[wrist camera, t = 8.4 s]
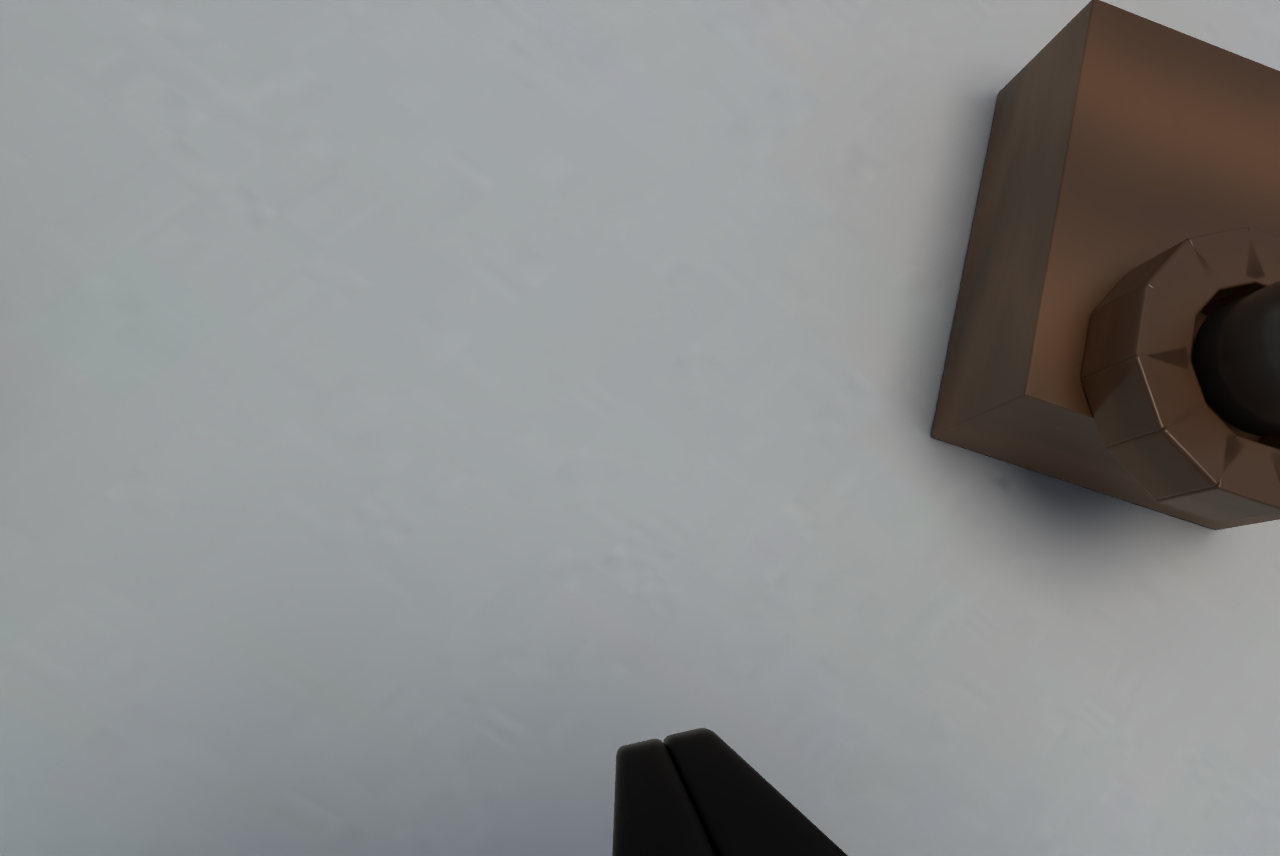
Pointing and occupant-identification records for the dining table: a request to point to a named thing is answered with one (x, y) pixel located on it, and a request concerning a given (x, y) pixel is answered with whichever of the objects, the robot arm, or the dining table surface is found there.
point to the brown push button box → (1119, 268)
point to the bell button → (1243, 361)
